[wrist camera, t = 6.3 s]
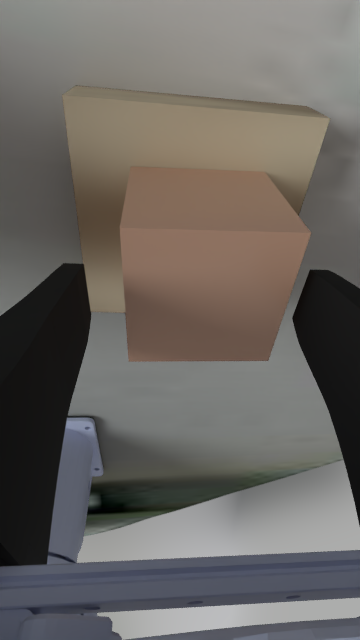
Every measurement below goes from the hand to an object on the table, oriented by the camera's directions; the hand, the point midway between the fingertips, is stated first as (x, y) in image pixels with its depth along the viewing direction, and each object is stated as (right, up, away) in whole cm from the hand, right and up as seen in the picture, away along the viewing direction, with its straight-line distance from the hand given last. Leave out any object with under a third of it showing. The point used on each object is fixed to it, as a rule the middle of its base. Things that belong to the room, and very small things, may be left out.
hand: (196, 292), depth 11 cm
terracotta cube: (0, +3, +3) cm, 4 cm away
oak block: (0, +5, +5) cm, 7 cm away
